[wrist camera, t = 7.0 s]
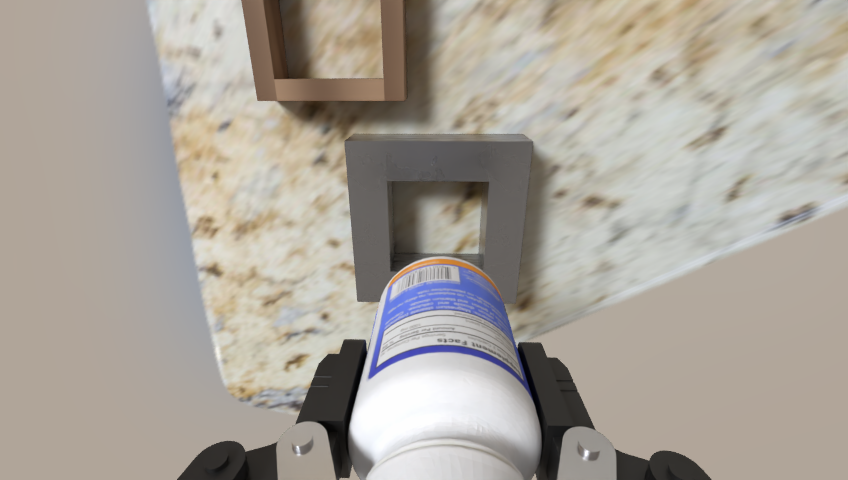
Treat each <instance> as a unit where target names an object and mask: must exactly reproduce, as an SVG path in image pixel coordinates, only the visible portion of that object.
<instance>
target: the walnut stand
mask: <svg viewBox="0 0 848 480" xmlns="http://www.w3.org/2000/svg"><path fill="white" fill-rule="evenodd" d="M241 1H242V7H243V13H244V19H245V26H246V32H247V38H248V44H249V50H250V57H251V63H252V69H253V75H254V82H255V88H256V94H257V100H258V101H405V100H406V99H407V59H406V3H405V0H381V23H382V48H383V74H384V79H289V77H288V69H287V62H286V54H285V46H284V38H283V30H282V23H281V15H280V7H279V0H241Z"/></svg>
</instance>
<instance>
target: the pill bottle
mask: <svg viewBox="0 0 848 480" xmlns="http://www.w3.org/2000/svg"><path fill="white" fill-rule="evenodd" d="M348 450H349V455H350V459H351V462H352V465H353V467H354V470H355V472H356V473H357V475H358V477H359V478H360V480H531V479H532V477H533V476H534V474H535V472H536V470H537V467H538V464H539V461H540V456H541V451H542V434H541V428H540V423H539V419H538V416H537V412H536V408H535V405H534V402H533V399H532V395H531V392H530V389H529V386H528V383H527V380H526V376H525V373H524V370H523V367H522V363H521V360H520V357H519V353H518V350H517V347H516V344H515V340H514V337H513V333H512V330H511V327H510V323H509V320H508V316H507V313H506V309H505V306H504V303H503V299H502V297H501V295H500V292H499V290H498V288H497V287H496V285H495V283H494V282H493V281H492V280H491V278H490V277H489V276H488V275H487V274H486V273H485V272H483V271H482V270H481V269H479V268H478V267H476V266H475V265H473V264H471V263H469V262H467V261H464V260H461V259H458V258H453V257H445V256H438V257H429V258H425V259H421V260H418V261H416V262H414V263H411V264H409V265H408V266H406V267H405V268H403V269H402V270H400V271H399V272H398V273H397V274H396V275H395V276H394V277H393V278H392V279H391V280H390V282H389V283H388V284H387V286H386V288H385V289H384V291H383V294H382V296H381V299H380V303H379V306H378V309H377V313H376V318H375V322H374V326H373V331H372V335H371V339H370V343H369V347H368V351H367V355H366V359H365V363H364V367H363V371H362V375H361V379H360V383H359V386H358V390H357V394H356V398H355V402H354V406H353V410H352V414H351V419H350V423H349V429H348Z"/></svg>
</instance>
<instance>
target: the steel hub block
mask: <svg viewBox="0 0 848 480" xmlns="http://www.w3.org/2000/svg"><path fill="white" fill-rule="evenodd" d="M532 148H533V141H532V140H530V139H529V138H528V137H526V136H525V135H523V134H353V135H352V136H350V137H349V138H348V139H347V140H345V153H346V165H347V178H348V190H349V203H350V215H351V227H352V240H353V252H354V264H355V277H356V289H357V302H380V299H381V296H382V294H383V291H384V289H385V288H386V286H387V284H388V283H389V282H390V280H391V279H392V278H393V277H394V276H395V275H396V274H397V273H398V272H399V271H400V270H402V269H403V268H405V267H406V266H408V265H409V264H411V263H414V262H416V261H418V260H421V259H425V258H429V257H438V256H445V257H453V258H458V259H461V260H464V261H467V262H469V263H471V264H473V265H475V266H476V267H478V268H479V269H481V270H482V271H483V272H485V273H486V274H487V275H488V276H489V277H490V278H491V280H492V281H493V282H494V283H495V285H496V287H497V288H498V290H499V292H500V295H501V297H502V299H503V303H516V297H517V288H518V279H519V269H520V260H521V251H522V241H523V232H524V223H525V213H526V204H527V194H528V185H529V176H530V166H531V157H532ZM392 181H472V182H483V190H482V207H481V224H480V241H479V254H413V253H394V226H393V198H392Z"/></svg>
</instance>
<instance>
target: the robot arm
mask: <svg viewBox="0 0 848 480" xmlns="http://www.w3.org/2000/svg"><path fill="white" fill-rule="evenodd" d="M517 350H518V353H519V357H520V360H521V363H522V367H523V370H524V373H525V376H526V380H527V383H528V386H529V389H530V392H531V395H532V399H533V402H534V405H535V408H536V412H537V416H538V419H539V423H540V428H541V434H542V451H541V456H540V461H539V464H538V467H537V470H536V472H535V473H536V477H537V480H711V479H710V477H709V476H708V475H707V474H706V473H705V472H704V471H703V470H702V469H701V468H700V467H699V466H698V465H697V464H696V463H695V462H693V461H692V460H690V459H689V458H687V457H685V456H683V455H681V454H679V453H676V452H671V451H659V452H656V453H654V454H653V455H652V456H651V458H650V461H648V460H645V459H642V458H638V457H635V456H631V455H628V454H625V453H622V452H620V451H618V450H616V449H614V447H613V445H612V444H611V442H610V441H609V440H608V439H607V438H606V437H605V436H603V435H602V434H601V433H599V432H598V431H596V430H595V428H594V426H593V423H592V421H591V419H590V417H589V415H588V412H587V410H586V408H585V406H584V404H583V401H582V399H581V397H580V395H579V393H578V392H577V388H576V386H575V384H574V383H573V379H572V377H571V375H570V373H569V370H568V368H567V367H566V366H565V365H564V364H563V363H562V362H561V361H560V360H558V358H547V356H546V354H545V351H544V349H543V346H542V344H541V343H531V342H519V344H518V349H517ZM366 355H367V348H366V341H365V340H354V339H345V340H344V341H343V344H342V347H341V350H340V353H339V354H328V355H327V356H326V357H325V358H324V359H323V360H322V361H321V362H320V363H319V365H318V367H317V370H316V372H315V375H314V378H313V380H312V383H311V387H310V388H309V390H308V393H307V396H306V398H305V401H304V403H303V406H302V408H301V411H300V414H299V416H298V419H297V421H296V424H295V425H293V426H292V427H290V428H289V429H287V430H286V431H285V432H284V433H283V434H282V436H281V437H280V438H279V440H278V442H276V443H274V444H272V445H269V446H265V447H262V448H258V449H254V450H251V451H247V452H245V450H244V448H243V446H242V445H241V444H239V443H237V442H234V441H224V442H220V443H216V444H214V445H212V446H210V447H208V448H206V449H205V450H203V451H202V452H201V453H200V454H199V455H198V456H197V457H196V458H195V459H194V460H193V461H192V462H191V464H190V465H189V466H188V467H187V468H186V470H185V471H184V472H183V473H182V474H181V476H180V477H179V478H178V479H177V480H339V479H340V478H349V477H350V472H351V468H352V462H351V459H350V455H349V450H348V429H349V423H350V419H351V414H352V410H353V406H354V402H355V398H356V394H357V390H358V386H359V383H360V379H361V375H362V371H363V367H364V363H365V359H366Z"/></svg>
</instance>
